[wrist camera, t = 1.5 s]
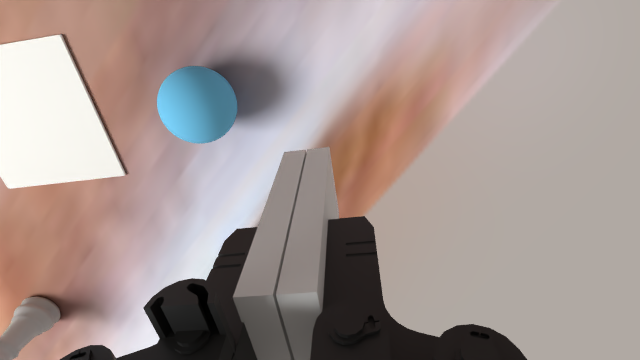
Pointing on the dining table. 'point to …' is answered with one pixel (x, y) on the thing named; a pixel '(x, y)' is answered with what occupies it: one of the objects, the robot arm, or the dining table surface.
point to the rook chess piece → (28, 325)
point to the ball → (197, 104)
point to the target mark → (49, 118)
